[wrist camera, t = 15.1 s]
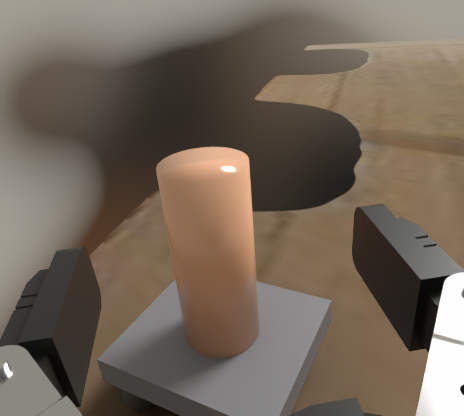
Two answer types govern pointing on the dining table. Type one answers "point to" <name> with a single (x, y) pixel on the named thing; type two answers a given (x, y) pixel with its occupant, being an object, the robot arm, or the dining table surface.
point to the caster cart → (219, 359)
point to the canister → (212, 247)
